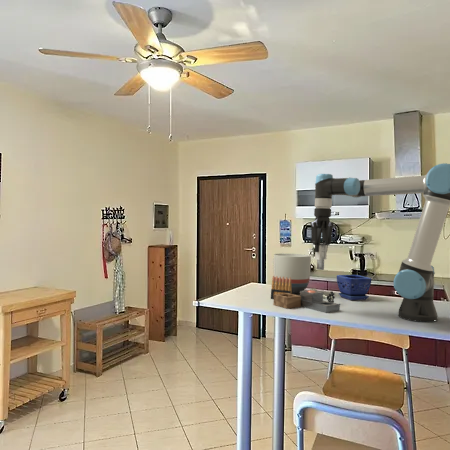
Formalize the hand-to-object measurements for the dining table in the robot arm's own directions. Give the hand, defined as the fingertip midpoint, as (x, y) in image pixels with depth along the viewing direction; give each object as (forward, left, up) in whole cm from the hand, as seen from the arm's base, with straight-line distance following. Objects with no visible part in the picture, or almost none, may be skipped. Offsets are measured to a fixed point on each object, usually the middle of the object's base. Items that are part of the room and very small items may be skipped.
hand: (320, 259), depth 185 cm
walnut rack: (+13, +8, -23) cm, 28 cm away
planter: (+36, -18, -23) cm, 47 cm away
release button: (+6, -2, -19) cm, 20 cm away
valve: (+10, -12, -23) cm, 28 cm away
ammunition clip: (+25, 0, -23) cm, 34 cm away
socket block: (+2, -2, -23) cm, 23 cm away
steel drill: (0, 0, -5) cm, 5 cm away
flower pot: (+9, -37, -23) cm, 45 cm away
